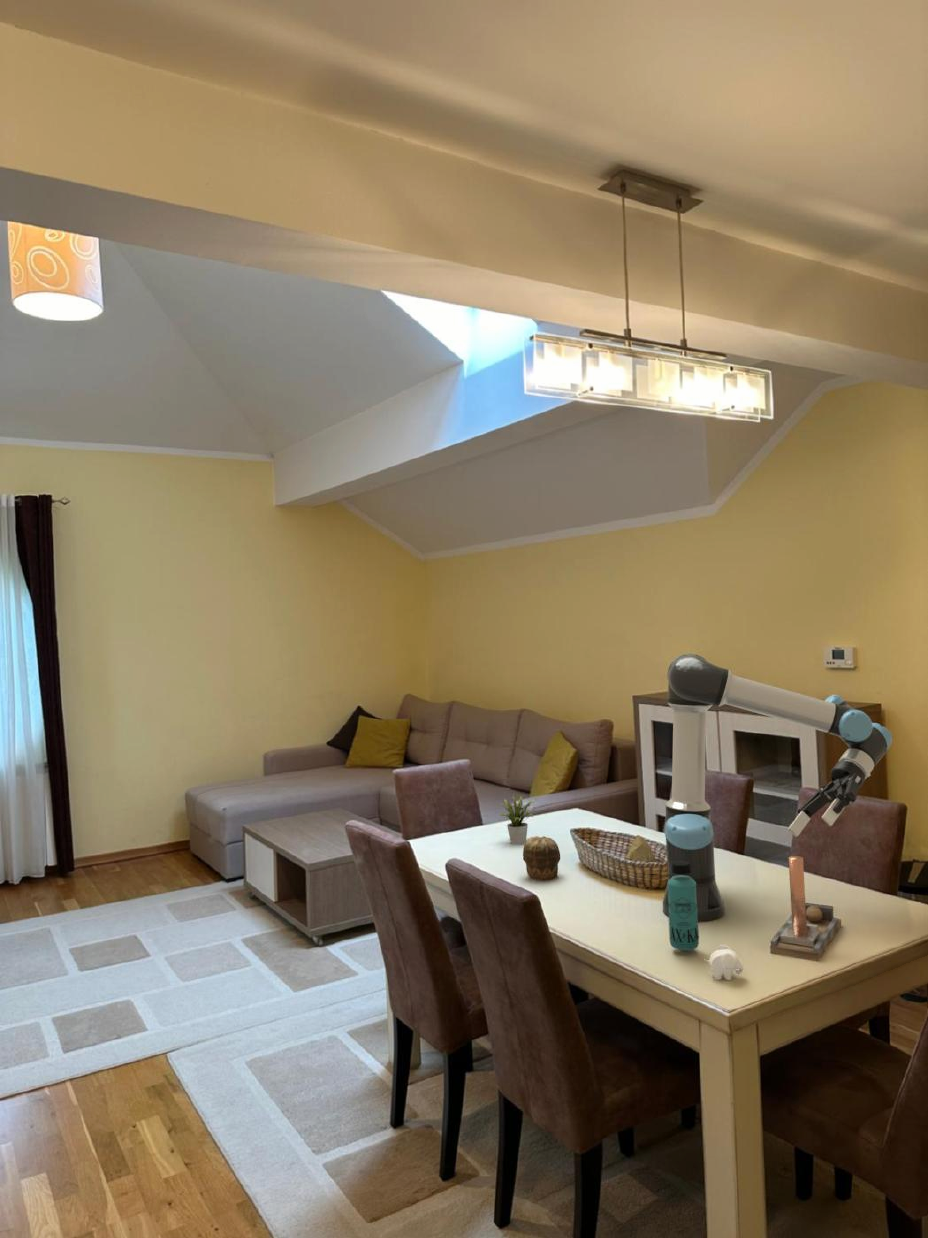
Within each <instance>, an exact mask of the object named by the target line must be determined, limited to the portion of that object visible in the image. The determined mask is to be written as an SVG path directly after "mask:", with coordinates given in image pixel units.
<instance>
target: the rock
mask: <svg viewBox="0 0 928 1238" xmlns="http://www.w3.org/2000/svg"><path fill="white" fill-rule="evenodd" d="M625 857H626V858H628V859H632V860H637V861H647V862H656V863H657V861H656V857H655V855H654V852H653V850H652V848H651V846H650V845H649V844H648V842H647V841H646V839H645V837H643V836H641V835H639V834H637V835H635V838H634V839H633V841H632V843H631V845H630V847H629V848H628V852H627V854H625Z"/></svg>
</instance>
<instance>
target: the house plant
mask: <svg viewBox="0 0 928 1238" xmlns="http://www.w3.org/2000/svg"><path fill="white" fill-rule="evenodd" d="M512 799H513V801H512V803H513V807H514V809H513V807H512V805H511V803H510V802H509V801H508V800H507V799H506V798H503V800H504V802H505V804H506V805H504V804H503V803H500V804H501V806H503V807H504V808H505V810H507V814H504V813H503V814H500V815H499V816H500V817H506V818H508V819H509V820H510V823H508V824H507V825H506V827H507V831H508V835H509V841H510V843H513V844H512V845H514V844H521V845H525V844H524V843H525V842H526V841H527V836H528V828H529V827H528V826H529V825H528V823H526V822H525V821H526V819H528V818H529V816H530V817H533V815H534V814H531V813H530V812H531V811H533V809H530V810H528V811H526V810H527V808H530V807H531V806H532V804H534V803H535V801H536V800H537V799H532V800H530V801H529V802H527V803H526V804H525V805H524V806H523V803H524V801H523V800H524V797H522V795H520V797H519V800H518V803H517V801H516V799H515V796H512ZM525 817H526V818H525Z"/></svg>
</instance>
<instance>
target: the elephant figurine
mask: <svg viewBox="0 0 928 1238" xmlns="http://www.w3.org/2000/svg"><path fill="white" fill-rule="evenodd" d="M703 960H704V961H706V962H708V963H709V968H710V971H711V973H712V976H713V978H714V979H715V980H716V981H719V980H721V979H722V976H723V978H724V979H725V980H727V981H731V980H732V975H733V971H735V973H736V974H737V975H741V974H742V973H743V972H744V971H745V968H744V965H743V963H742V961H741V960H740V958H739V957H738V954H737V953H736V952H735V951H734V950H732V949H731V948H730V947H729V946H728V945H727V944H720V945H719V946H718V948H717V950H715V951H713V953H711V955H710V957H709V959H708V960H707V959H705V958H704V959H703Z"/></svg>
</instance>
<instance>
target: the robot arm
mask: <svg viewBox="0 0 928 1238" xmlns="http://www.w3.org/2000/svg"><path fill="white" fill-rule="evenodd" d="M666 676H667V681H668V682H667V683H668V684H667V704H668V706H669V707H670V708H671V709H672V710H673V712H672V714H673V721H672V722H673V724H672V726H673V727H672V728H673V729H672V768H671V769H672V774H671V776H672V777H671V798H670V799H669V800H668V801H667V802H666V803H665V823H664V827H663V828H664V832H663V833H664V836H665V846H666V859H667V860H666V861H667V863H666V865H667V876H668V877H667V878H668V881H669V880H670V879H671V878H672V877H673V876H677V875H684V876H689V877H691V878H692V879H693V880H694V881H695V882H696V899H697V908H698V909H697V917H698V922H707V921H712V920H717V919H719V918H721V917H722V916H724V914H725V903H724V900H723V897H722V895H721V892H720V890H719V887H718V884H717V882H716V867H715V849H714V836H715V835H714V829H713V823H712V822H711V806H710V804H709V803H707V802H706V800H705V797H706V796H705V795H706V794H705V792H706V789H705V788H706V747H707V745H706V743H707V711H708V710H710V708H711V707H712V706H715V707H721V706H723V705H728V706H731V707H734V708H738V709H742V710H745V711H748V712H752V713H756V714H760V715H763V716H767V717H770V718H774V719H777V720H780V721H785V722H788V723H791V724H795V725H799V726H803V727H805V728H809V729H813V730H815V731H820V732H823V733H827V734H830V735H832V736H837V737H839V738H840V739H841V740H842V742H843V743H845V744H846V745H847V747H848V748H847V749H846V750H845V752H844V753H843V754H842V756H840V758H839V759H838V761H837V762H836V764H835V765H834V766H833V768H831V771H830V778H831V780H830V781H829V782H828V783H827V784H826V785H824V784H823V785H821V786H820V787H819V789H818V790H817V791H816V792H815V793H814V794H813V795H812V796H811V797H810V798H809V799H808V800H807V801H806V802H805V803H804V804H803V805H801V806H800V808H799V809H797V811H796V813H797V814H798V815H797V816H796V817H795V819H794V820H793V821H792V823H791V824H790V825H789V826H788V828H787V830H789V832H790V833H791V835H793V836H794V837H795V838H798V837H799V835H800V834H801V832H802V831H803V829H804V828H805V827H806V826H807V825H808V824H809V822H812V819H811V817H813V816H814V815H815V814H816V813H818V811H819V810H821V809H822V808H823V807H825V806H826V805H827V804H830V805H829V806H828V808H827V809H826V811H824V813H823V814H822V816H821V819H822V820H823V821H824V822H825V823H826V824H827V825H828V826H829V827H832V826H833V824H834V823H836V820H837V819H838V818H839V816H840V815H841V814H842V813H843V811H844V810H845V808H846V807H848V806H849V805H850V803H855V802H856V800H857V797H858V794H859V790H860V788H861V787H862V786H863V783H865V780H866V779H867V778H869V777H871V775H872V774H871V773H872V771H873V770H874V768H875V767H876V766H877V764H878V763H879V762H880V760H881V759H882V758H883V757H884V755H886V754H887V751H888V750H889V748H890V747H891V745H892V742H893V736H892V733H891V731H890V730H889V729H887V727H885V726H883V725H881V724H880V723H877V722H872V719H871V718H870V716H869V715H868V714H867V713H866V712H864V711H863V710H859V709H856V708H855V707H852V706H851V705H849V704H848V703H847V701H846V700H844V699H843V698H842V697H841V696H840V695H839V694H832V695H830V696H828V697H827V698H826V699H820V698H816V697H813V696H810V695H805V694H802V693H798V692H795V691H791V690H787V689H784V688H780V687H776V686H773V685H769V684H765V683H762V682H758V681H757V680H756V681H755V680H751V679H748V678H744V677H740V676H737V675H734V674H733V673H732V671H731V670H730V669H727V668H723V667H719V666H717V665H715V664H713V663H710V662H709V661H708V660H707V659H706V658H704V657H703V656H700V655H698V654H694V653H688V654H686V653H685V654H681V655H679V656H678V657H676V658H675V659H674V660H673V661H671V663H670V665H669V667H668V668H667V674H666ZM676 861H685V862H688V863H689V864H690V869H691V873H689V874H675V873H672V863H673V862H676ZM668 881H667V882H668ZM668 908H669V901H668V884H667V883H666V887H665V892H664V895H663V899H662V912H663V914H664V915H666V916H668V914H669V909H668Z"/></svg>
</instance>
